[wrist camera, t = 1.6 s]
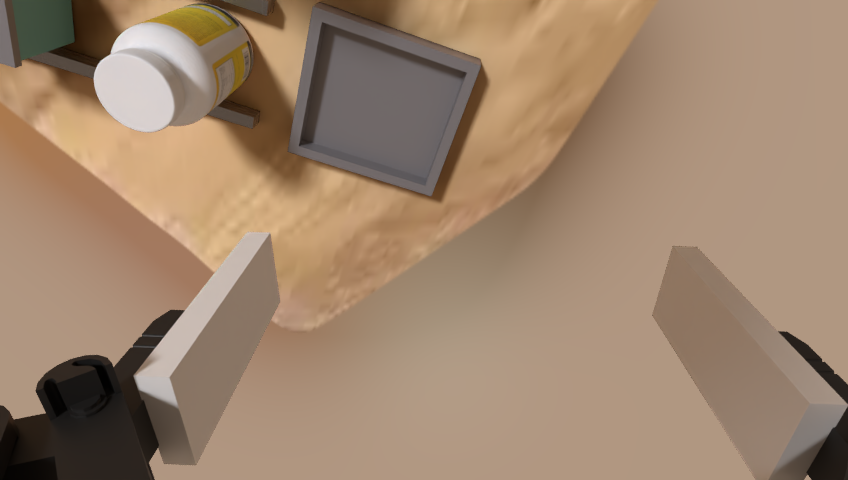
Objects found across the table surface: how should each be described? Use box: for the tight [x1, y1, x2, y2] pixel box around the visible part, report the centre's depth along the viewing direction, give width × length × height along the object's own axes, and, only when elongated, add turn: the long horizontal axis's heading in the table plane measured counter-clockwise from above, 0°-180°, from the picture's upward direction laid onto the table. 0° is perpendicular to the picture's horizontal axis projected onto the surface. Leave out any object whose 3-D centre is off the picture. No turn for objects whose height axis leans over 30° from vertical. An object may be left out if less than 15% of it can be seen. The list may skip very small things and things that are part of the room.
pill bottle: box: [94, 3, 253, 132], centre depth 33 cm, size 6×6×12 cm
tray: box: [288, 2, 481, 196], centre depth 39 cm, size 12×13×2 cm
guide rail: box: [29, 0, 275, 129], centre depth 36 cm, size 10×21×2 cm, turn 72°
